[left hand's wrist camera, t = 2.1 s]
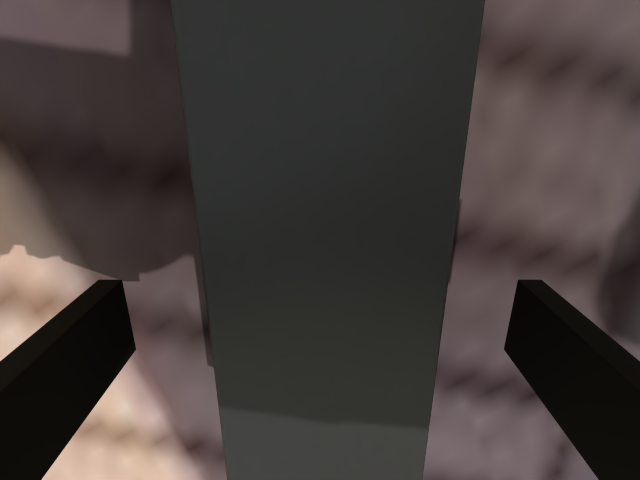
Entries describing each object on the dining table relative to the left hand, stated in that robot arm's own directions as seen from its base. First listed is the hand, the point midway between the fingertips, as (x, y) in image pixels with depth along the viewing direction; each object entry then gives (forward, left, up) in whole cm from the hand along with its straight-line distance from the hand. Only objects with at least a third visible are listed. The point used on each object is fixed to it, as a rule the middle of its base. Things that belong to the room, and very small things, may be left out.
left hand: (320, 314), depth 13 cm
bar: (-2, -19, -4) cm, 19 cm away
